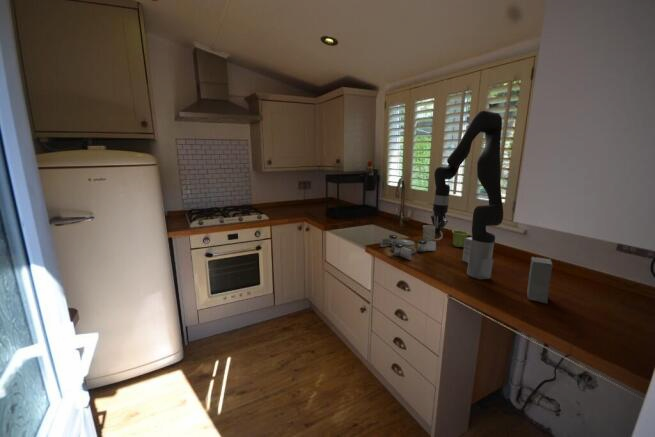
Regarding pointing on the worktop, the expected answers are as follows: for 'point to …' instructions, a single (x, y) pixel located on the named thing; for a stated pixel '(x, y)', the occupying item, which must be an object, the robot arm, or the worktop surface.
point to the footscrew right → (426, 246)
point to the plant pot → (459, 238)
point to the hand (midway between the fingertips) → (437, 234)
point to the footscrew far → (388, 241)
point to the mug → (430, 233)
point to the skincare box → (539, 279)
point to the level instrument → (406, 245)
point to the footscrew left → (402, 251)
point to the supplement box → (466, 249)
